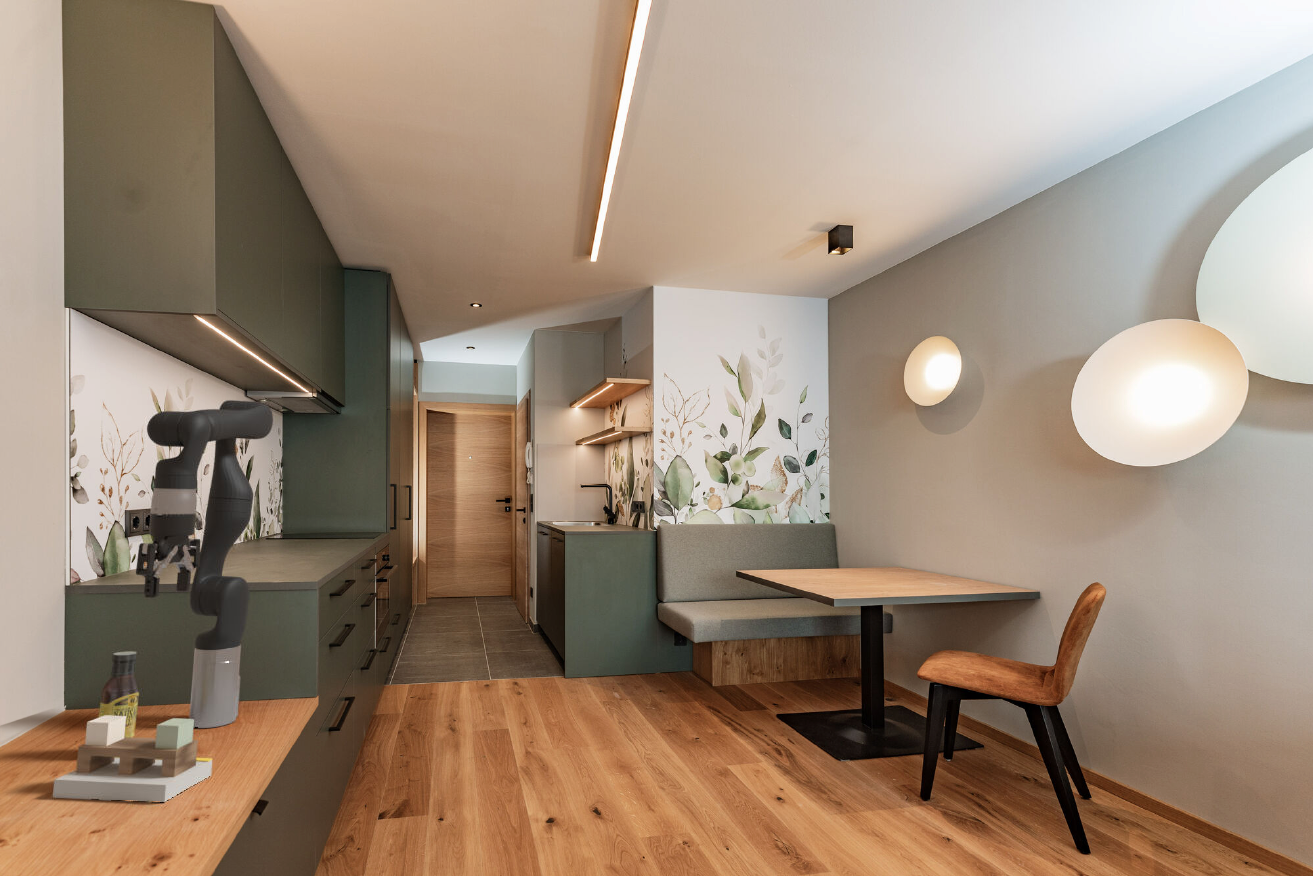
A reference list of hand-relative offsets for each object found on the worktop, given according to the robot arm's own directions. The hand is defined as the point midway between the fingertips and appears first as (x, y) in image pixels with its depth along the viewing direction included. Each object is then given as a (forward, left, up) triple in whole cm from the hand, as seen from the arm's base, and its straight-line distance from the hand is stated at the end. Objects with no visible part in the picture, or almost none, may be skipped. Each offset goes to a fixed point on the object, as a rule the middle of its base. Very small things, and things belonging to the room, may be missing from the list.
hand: (167, 594), depth 141 cm
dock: (+9, +4, -33) cm, 34 cm away
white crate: (+9, -3, -25) cm, 27 cm away
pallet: (+9, +4, -30) cm, 32 cm away
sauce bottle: (-5, -12, -33) cm, 36 cm away
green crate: (+9, +10, -25) cm, 29 cm away
